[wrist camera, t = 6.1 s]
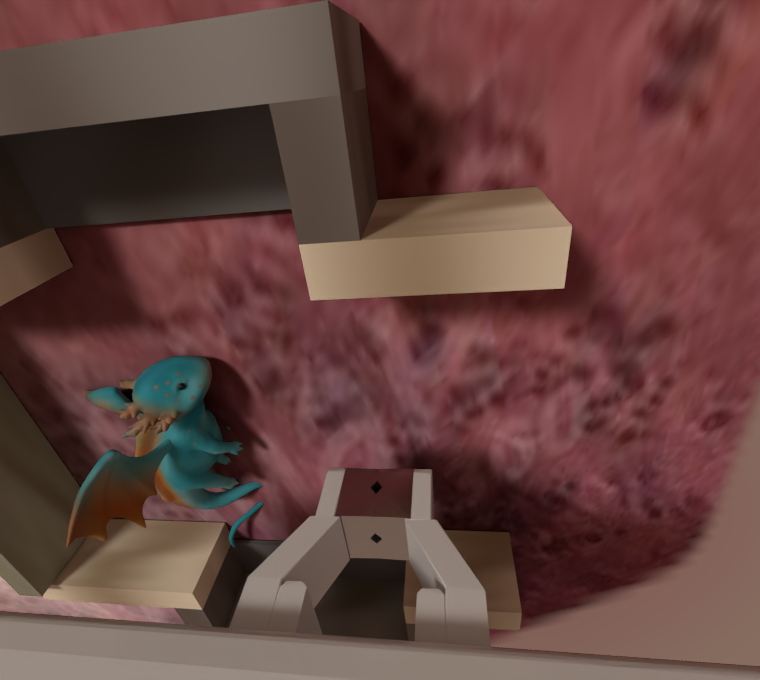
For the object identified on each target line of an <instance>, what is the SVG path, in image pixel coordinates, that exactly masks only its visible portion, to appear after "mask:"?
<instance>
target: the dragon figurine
mask: <svg viewBox="0 0 760 680" xmlns="http://www.w3.org/2000/svg"><path fill="white" fill-rule="evenodd" d="M211 380H212V370H211V365H210V362H209V360H207V359H206V358H203V357H199V356H175V357H170V358H167V359H164V360H161V361H159V362H157V363H155V364H153V365H152V366H150V367H149V368H147V369H146V370H145V371H144V372H143V373H142V374H141V375H140V376H139V377H138V379H134V380H126V381H119V382H118V383H119V384H120V387H121V388H125V389H133V393H132V398H133V401H134V402H132V401H131V400H129V399H128V398H127V397H126V396H125V395H124V394H123V393H122V392H121V391H120V390H119V388H117V387H113V386H112V387H105V388H101V389H98V390H94V391H88V390H86V391H85V396H86V398H87V399H88V400H89V401H91V402H92V403H93V404H94V405H96V406H98V407H100V408H102V409H105V410H109V411H112V412H114V413H117V414H121V415H120V418H121V419H129V418H130V417H133V418H137V419H138V420H139V421H138V422H136V423H135V424H133V425H131V426H129V427H127V428H126V429H130V428H132V430H130V431H129V432H127V433H126V434H125V435H123V436H122V437H121V438H124V437H128V436H131V437H132V436H134V437H135V436H136V435H137V436H136V437H135V441H136V446H135V447H136V452H135V457H129V456H126V455H124V454H122V453H121V452H119V451H117V450H109V451H108V452H106V453H105V454H104V455H103V456H102V457H101V458H100V460H99V461H98V462H97V463H96V465H95V466H94V467H93V469H92V470H91V472H90V473H89V475H88V476H87V478H86V479H85V481H84V483H83V484H82V486H81V488H80V490H79V492H78V494H77V497H76V500H75V503H74V506H73V510H72V515H71V519H70V523H69V529H68V537H67V545H66V547H69V546H70V544H71V543H72V542H73V541H74V540H75V539H77V538H80V537H93V538H97V539H99V540H102V541H106V540H107V530H106V526H107V523H108V522H109V520H110V519H111V518H114V517H120V518H124V519H128V520H130V521H132V522H135V523H136V524H138V525H139V526H141V527H143V528H146V523H145V520H144V518H143V514H142V508H143V504H144V502H145V500H146V499H147V498H148V497H149V496H152V495H157V493H158V494H159V495H161V497H162V499H163V500H164V501H166V502H173V503H175V504H177V505H180V506H184V507H187V508H197V509H214V508H219V507H223V506H226V505H228V504H230V503H232V502H234V501H236V500H238V499H239V498H241V497H243V496H244V495H246V494H248V493H249V492H251V491H253V490H254V489H256V488H259V487H263V485H262V484H260V483H257V482H249V483H246V484H244V485H241V486H238V487H235V488H234V487H233V486H234V485H236V484H239V482H237V481H236V479H235V478H233V477H224V476H222V475H220V474H217V473H214V472H213V471H211V470H210V468H211V467H212V466H213V465H214V463H215V462H218V463H221V464H224V465H227V464H228V462H231V461H230V459H229V458H228V457H227V456H225V455H223V454H222V453H227V452H229V453H232V454H235V455H239V453H238V451H241V450H243V448H242V447H239V446H240V445H242V444H243V443H242V442H236V440H234V441H233V442H223V439H222V433H221V430H220V428H219V426H218V424H217V423H216V418H215V417H214V416H213V415H212V414H211V413H210V412H209V411H208V410H206V409H205V404H204V399H203V398H204V397H205V395H206V393H207V391H208V389H209V387H210V384H211ZM226 428H227V429H230V428H229V427H227V426H226ZM139 432H140V433H139ZM218 487H221V488H226V489H231V490H228V491H224V492H210V491H207V490H205V489H204V488H218ZM263 505H264V503H263V502H261V503H258V504H257V505H255V506H254V507H253V508H252V509H251V510H249V511H248V512H247V513H246V514H244V515H243V516H242V517H241V518H240V519H239V520H237V521H236V522H235V523H234V525H233V526H232V528H231V530H230V534H229V541H230V543H231V545H232V546H233V547H235V548H236V544H235V542H234V535H235V532H236V530H237V528H238V527H239V526H240V524H241V523H242V522H244V521H245V520H246V519H247V518H248V517H250V516H251V515H252V514H253V513H255V512H256V511H257V510H258V509H259V508H260V507H261V506H263Z"/></svg>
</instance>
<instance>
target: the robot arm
mask: <svg viewBox="0 0 760 680" xmlns="http://www.w3.org/2000/svg"><path fill="white" fill-rule="evenodd" d="M349 558H381V559H394V560H408V561H410V564H411V566H412V568H413V570H414V572H415V574H416V576H417V578H418V580H419V581H420V583H421V585H422V587H423V588H422V589H421V590H420V591H419V592H418V593H417V601H416V621H415V641H403V640H390V639H376V638H363V637H349V636H335V635H323V634H322V631H321V628H320V625H319V622H318V619H317V616H316V613H315V610H314V608H315V607H316V605H317V604H318V603H319V601H320V600H321V598H322V597H323V596H324V594H325V593H326V592H327V590H328V589H329V588H330V586H331V585H332V583H333V582H334V581H335V579H336V578H337V577H338V575H339V574H340V573H341V571H342V570H343V569H344V567H345V566H346V564H347V563H348V562H349V560H350V559H349ZM0 680H760V666H747V665H733V664H719V663H706V662H705V663H704V662H692V661H691V662H690V661H677V660H664V659H663V660H662V659H650V658H637V657H623V656H609V655H595V654H581V653H568V652H554V651H539V650H527V649H513V648H499V647H491V645H490V635H489V625H488V614H487V604H486V594H485V589H484V588H483V587H482V585H481V584H480V582H479V581H478V579H477V578H476V576H475V575H474V573H473V572H472V570H471V569H470V568H469V566H468V565H467V563H466V562H465V560H464V559H463V557H462V556H461V554H460V553H459V551H458V550H457V549H456V547H455V546H454V544H453V543H452V541H451V540H450V538H449V537H448V535H447V534H446V532H445V531H444V530H443V528H442V527H441V525H440V524H439V522H438V521H437V520H434V498H433V477H432V469H360V468H329V470H328V472H327V474H326V478H325V482H324V486H323V489H322V493H321V497H320V500H319V504H318V508H317V511H316V515H315V516H310V517H309V518H308V519H307V520H306V521H305V522H304V523H302V524H301V525H300V526H299V527H298V528H297V529H296V530H295V531H294V532H293V533H292V534H291V535H290V536H289V537H288V538H287V539H286V540H285V541H284V542H283V543H282V544H281V545H280V546H279V547H278V548H277V549H276V550H275V551H274V552H273V553H272V554H271V555H270V556H269V557H268V558H267V559H266V560H265V561H264V562H263V563H262V564H261V565H260V566H259V567H257V568H256V569H255V570H254V571H253V572H252V573H251V574H250V575H249V576H248V578H247V581H246V583H245V586H244V589H243V591H242V594H241V597H240V599H239V602H238V605H237V607H236V610H235V613H234V615H233V618H232V621H231V623H230V626H229V628H224V627H210V626H197V625H183V624H169V623H156V622H142V621H128V620H115V619H101V618H87V617H74V616H60V615H47V614H33V613H19V612H5V611H0Z"/></svg>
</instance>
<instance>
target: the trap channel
mask: <svg viewBox="0 0 760 680" xmlns="http://www.w3.org/2000/svg"><path fill="white" fill-rule="evenodd" d="M284 209H291V210H292V215H293V219H294V224H295V229H296V233H297V238H298V243H299V248H300V252H301V257H302V262H303V266H304V271H305V276H306V281H307V285H308V290H309V295H310V299H311V300H329V299H351V298H372V297H393V296H414V295H435V294H456V293H477V292H499V291H520V290H541V289H562V288H564V286H565V279H566V271H567V263H568V256H569V248H570V240H571V233H572V225H571V224H570V223H569V222H568V221H567V220H566V218H565V217H564V216H563V215H562V214H561V213H560V211H559V210H558V209H557V208H556V207H555V206H554V205H553V203H552V202H551V201H550V200H549V199H548V198H547V197H546V195H545V194H544V193H543V192H542V191H541V190H540V188H539V187H530V188H517V189H505V190H493V191H481V192H468V193H456V194H444V195H431V196H419V197H407V198H395V199H382V200H378V196H377V186H376V177H375V168H374V158H373V149H372V139H371V130H370V121H369V111H368V102H367V92H366V83H365V74H364V64H363V55H362V45H361V36H360V27H359V20H358V19H356V18H355V17H353V16H351V15H350V14H348V13H347V12H345V11H344V10H342V9H340V8H339V7H337V6H336V5H334V4H333V3H331V2H329V1H328V0H327V1H320V2H314V3H307V4H301V5H294V6H288V7H281V8H275V9H268V10H262V11H255V12H249V13H242V14H236V15H229V16H223V17H216V18H210V19H203V20H197V21H190V22H184V23H177V24H171V25H164V26H158V27H151V28H145V29H138V30H132V31H125V32H119V33H112V34H106V35H100V36H93V37H87V38H80V39H74V40H67V41H61V42H54V43H48V44H41V45H35V46H28V47H22V48H15V49H9V50H2V51H0V306H2V305H4V304H5V303H7V302H9V301H11V300H13V299H15V298H16V297H18V296H20V295H22V294H24V293H26V292H27V291H29V290H31V289H33V288H35V287H37V286H38V285H40V284H42V283H44V282H46V281H48V280H49V279H51V278H53V277H55V276H57V275H59V274H60V273H62V272H64V271H66V270H68V269H70V268H71V267H73V265H72V263H71V261H70V259H69V257H68V255H67V253H66V251H65V249H64V247H63V246H62V244H61V242H60V240H59V238H58V236H57V234H56V232H55V230H54V228H61V227H73V226H85V225H98V224H110V223H123V222H135V221H147V220H160V219H172V218H184V217H197V216H209V215H222V214H234V213H246V212H259V211H271V210H284ZM79 490H80V486H79V485H78V483H77V482H76V480H75V479H74V478H73V476H72V475H71V473H70V472H69V470H68V469H67V468H66V466H65V465H64V463H63V462H62V460H61V459H60V458H59V456H58V455H57V453H56V452H55V451H54V449H53V448H52V446H51V445H50V443H49V442H48V441H47V439H46V438H45V436H44V435H43V433H42V432H41V431H40V429H39V428H38V426H37V425H36V424H35V422H34V421H33V419H32V418H31V416H30V415H29V414H28V412H27V411H26V409H25V408H24V406H23V405H22V404H21V402H20V401H19V399H18V398H17V397H16V395H15V394H14V392H13V391H12V389H11V388H10V387H9V385H8V384H7V382H6V381H5V379H4V378H3V377H2V375H1V374H0V576H1V577H2V578H3V579H4V580H5V581H6V582H7V583H8V584H9V585H10V586H11V587H12V588H13V589H14V590H15V591H16V592H17V593H18V594H19V595H27V596H44V597H45V598H46V599H47V600H62V601H77V602H93V603H108V604H123V605H138V606H153V607H168V608H175V610H176V611H177V613H178V614H179V615H180V617H181V618H182V620H183V621H184V623H185V624H186V625H197V626H210V627H224V628H229V626H230V623H231V621H232V618H233V615H234V613H235V610H236V607H237V605H238V602H239V599H240V597H241V594H242V591H243V589H244V586H245V583H246V581H247V578H248V576H249V575H250V574H251V573H252V572H253V571H254V570H255V569H256V568H257V567H259V566H260V565H261V564H262V563H263V562H264V561H265V560H266V559H267V558H268V557H269V556H270V555H271V554H272V553H273V552H274V551H275V550H276V549H277V548H278V547H279V546H280V545H281V544H282V543H283V542H284V541H263V540H238V539H234V542H235V544H236V548H235V547H233V546H232V545H231V543H230V541H229V534H230V532H229V530H228V528H227V526H226V524H225V523H220V522H190V521H160V520H145V523H146V528H143V527H141V526H139V525H138V524H136V523H135V522H132V521H130V520H128V519H110V520H109V522H108V523H107V526H106V530H107V540H106V541H102V540H99V539H97V538H93V537H80V538H77V539H75V540H74V541H73V542H72V543H71V544H70V546H69V547H66V545H67V537H68V529H69V523H70V519H71V515H72V510H73V506H74V503H75V500H76V497H77V494H78V492H79ZM444 531H445V532H446V534H447V535H448V537H449V538H450V540H451V541H452V543H453V544H454V546H455V547H456V549H457V550H458V551H459V553H460V554H461V556H462V557H463V559H464V560H465V562H466V563H467V565H468V566H469V568H470V569H471V570H472V572H473V573H474V575H475V576H476V578H477V579H478V581H479V582H480V584H481V585H482V587H483V588H484V589H485V594H486V604H487V614H488V625H489V629H499V630H514V631H520V625H521V617H522V610H521V604H520V597H519V591H518V585H517V579H516V572H515V566H514V560H513V553H512V547H511V541H510V534H509V532H488V531H458V530H444ZM349 559H350V560H349V562H348V563H347V564H346V566H345V567H344V569H343V570H342V571H341V573H340V574H339V575H338V577H337V578H336V579H335V581H334V582H333V583H332V585H331V586H330V588H329V589H328V590H327V592H326V593H325V594H324V596H323V597H322V598H321V600H320V601H319V603H318V604H317V605H316V607H315V608H314V610H315V613H316V616H317V619H318V622H319V625H320V628H321V631H322V634H323V635H335V636H349V637H363V638H376V639H390V640H403V641H415V621H416V601H417V593H418V592H419V591H420V590H421V589H422V588H423V587H422V585H421V583H420V581H419V580H418V578H417V576H416V574H415V572H414V570H413V568H412V566H411V564H410V561H408V560H394V559H381V558H349Z"/></svg>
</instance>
